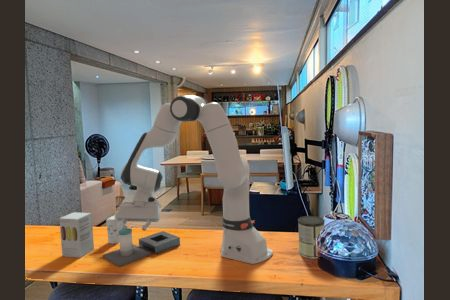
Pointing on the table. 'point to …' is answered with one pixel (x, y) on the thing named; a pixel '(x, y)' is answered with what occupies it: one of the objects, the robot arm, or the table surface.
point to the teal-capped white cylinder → (126, 242)
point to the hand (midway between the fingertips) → (133, 229)
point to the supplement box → (76, 234)
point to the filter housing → (159, 242)
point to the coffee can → (309, 235)
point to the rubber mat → (123, 260)
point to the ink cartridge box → (113, 229)
